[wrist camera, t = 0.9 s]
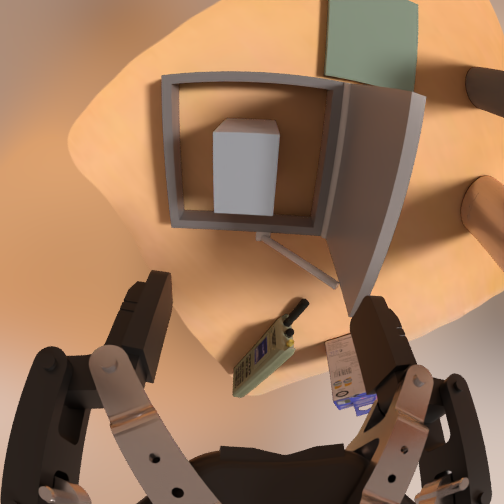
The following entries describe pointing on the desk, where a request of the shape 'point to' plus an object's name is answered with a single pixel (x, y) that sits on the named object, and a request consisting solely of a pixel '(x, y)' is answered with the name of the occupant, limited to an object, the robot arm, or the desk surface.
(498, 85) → the bottle
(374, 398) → the ink cartridge box
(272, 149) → the block
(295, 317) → the handheld radio
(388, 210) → the case
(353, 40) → the mat
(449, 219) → the desk surface
